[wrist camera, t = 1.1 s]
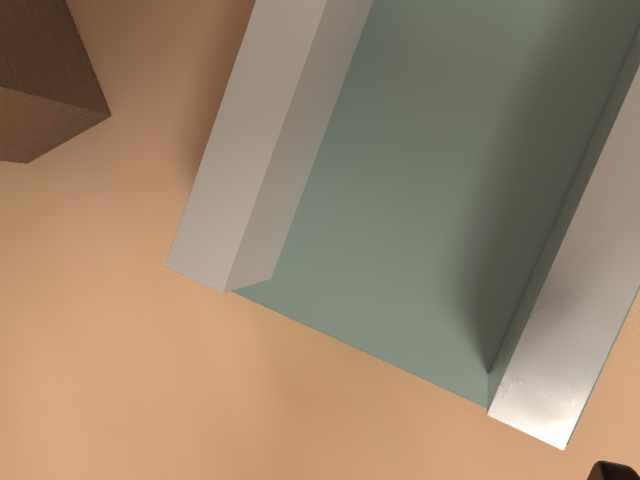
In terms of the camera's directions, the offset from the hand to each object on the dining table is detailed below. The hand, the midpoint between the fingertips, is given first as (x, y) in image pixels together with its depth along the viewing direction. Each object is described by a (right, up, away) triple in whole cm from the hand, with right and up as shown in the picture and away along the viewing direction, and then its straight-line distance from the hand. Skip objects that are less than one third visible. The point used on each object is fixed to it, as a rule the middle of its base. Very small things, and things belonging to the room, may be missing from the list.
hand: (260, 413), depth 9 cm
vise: (+5, +6, +12) cm, 14 cm away
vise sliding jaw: (+10, +3, +10) cm, 15 cm away
